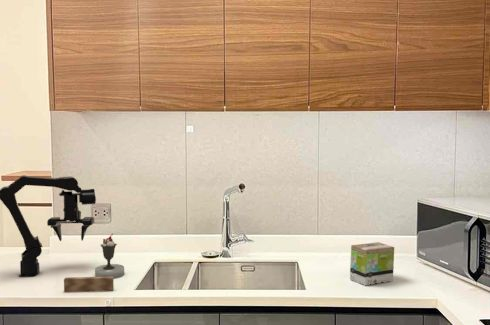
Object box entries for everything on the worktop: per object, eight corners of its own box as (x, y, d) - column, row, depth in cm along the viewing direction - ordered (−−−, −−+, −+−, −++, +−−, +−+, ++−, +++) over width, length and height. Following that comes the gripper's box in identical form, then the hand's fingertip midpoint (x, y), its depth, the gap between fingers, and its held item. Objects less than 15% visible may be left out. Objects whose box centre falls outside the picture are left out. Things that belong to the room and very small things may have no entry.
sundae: (116, 269, 199) (116, 234, 199) (100, 270, 198) (99, 235, 197) (117, 265, 206) (117, 231, 205) (101, 266, 205) (101, 231, 204)
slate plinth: (92, 279, 196) (91, 272, 196) (98, 271, 208) (98, 264, 208) (121, 278, 197) (121, 271, 197) (126, 270, 209) (126, 263, 209)
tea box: (365, 286, 189) (366, 250, 188) (349, 279, 198) (350, 244, 197) (394, 281, 196) (394, 246, 195) (376, 275, 204) (377, 241, 204)
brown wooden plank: (64, 292, 180) (63, 279, 180) (65, 290, 182) (65, 277, 182) (112, 290, 182) (112, 278, 182) (113, 289, 184) (113, 276, 184)
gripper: (96, 202, 217) (97, 236, 218) (54, 202, 215) (55, 237, 216) (91, 206, 206) (91, 241, 207) (46, 206, 204) (47, 242, 205)
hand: (71, 240), depth 209 cm, fingers open, 9 cm apart
